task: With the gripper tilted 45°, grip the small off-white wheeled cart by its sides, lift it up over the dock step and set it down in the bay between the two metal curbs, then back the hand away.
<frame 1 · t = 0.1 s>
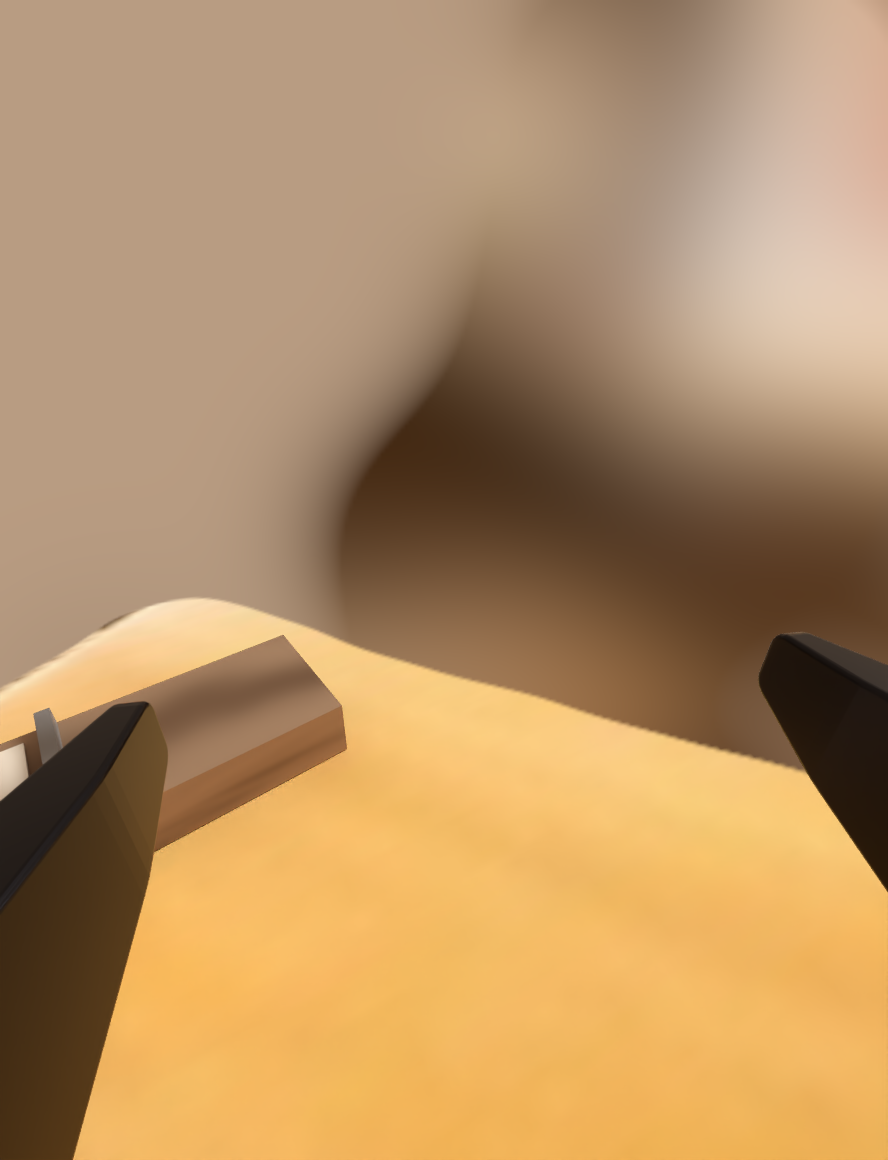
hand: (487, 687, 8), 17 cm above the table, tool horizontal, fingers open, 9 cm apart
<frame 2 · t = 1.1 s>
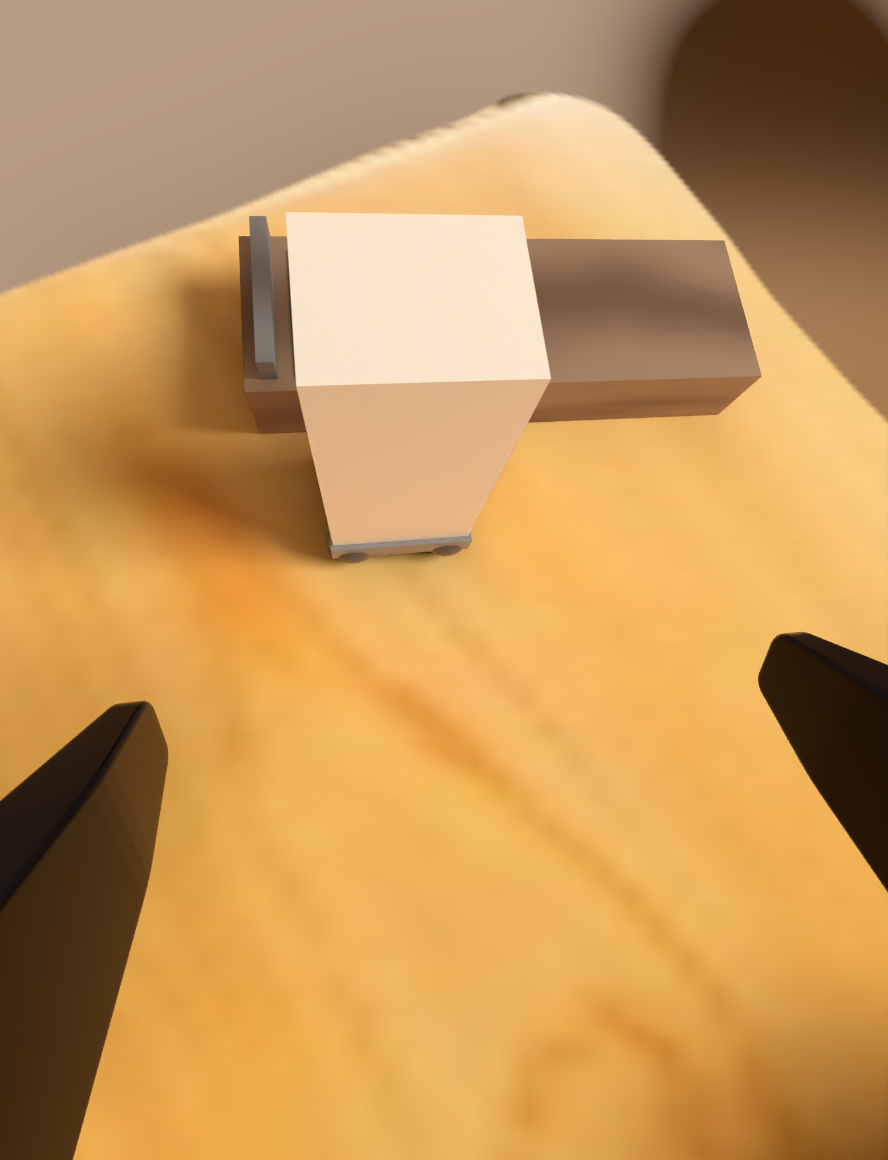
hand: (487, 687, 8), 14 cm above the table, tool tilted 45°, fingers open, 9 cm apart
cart: (394, 509, 23), on the table
dock: (379, 360, 24), on the table
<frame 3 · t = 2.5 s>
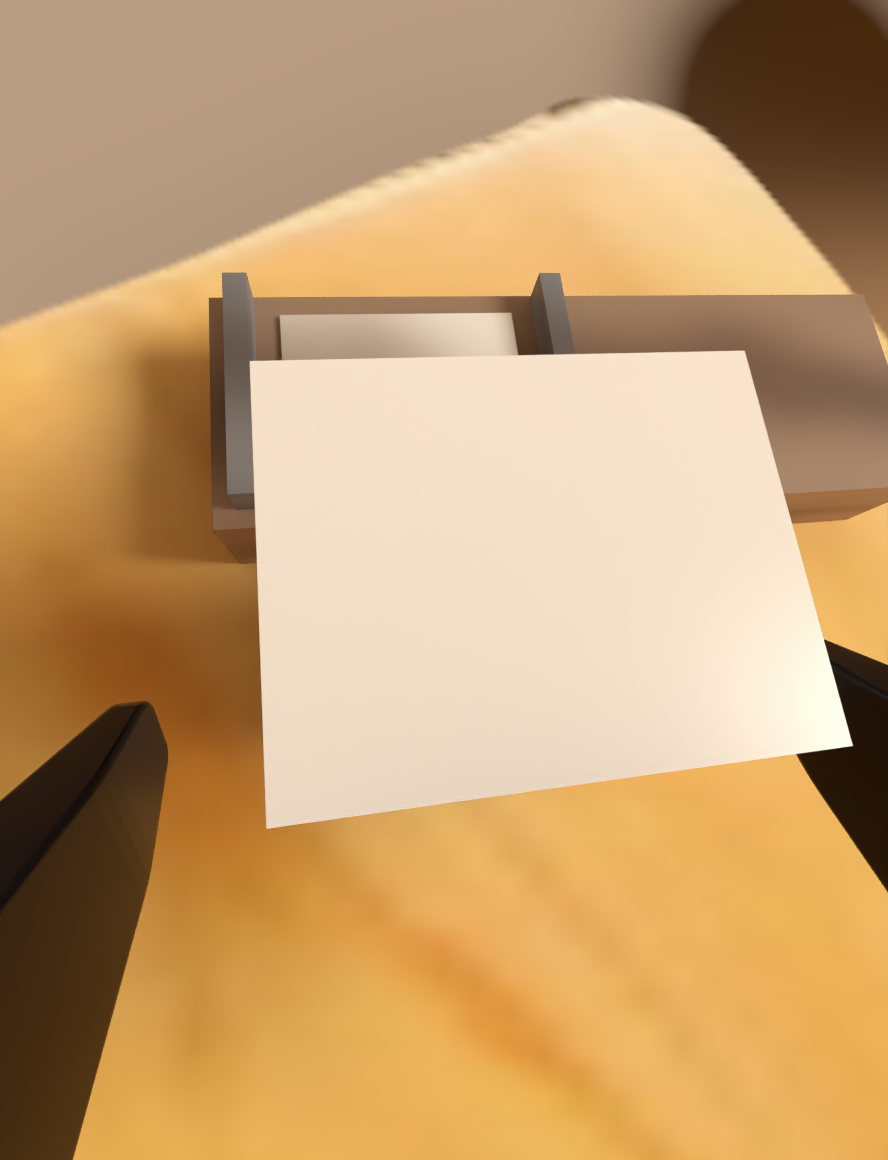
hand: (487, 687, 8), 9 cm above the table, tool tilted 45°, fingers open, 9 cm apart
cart: (424, 669, 17), on the table
dock: (402, 454, 18), on the table
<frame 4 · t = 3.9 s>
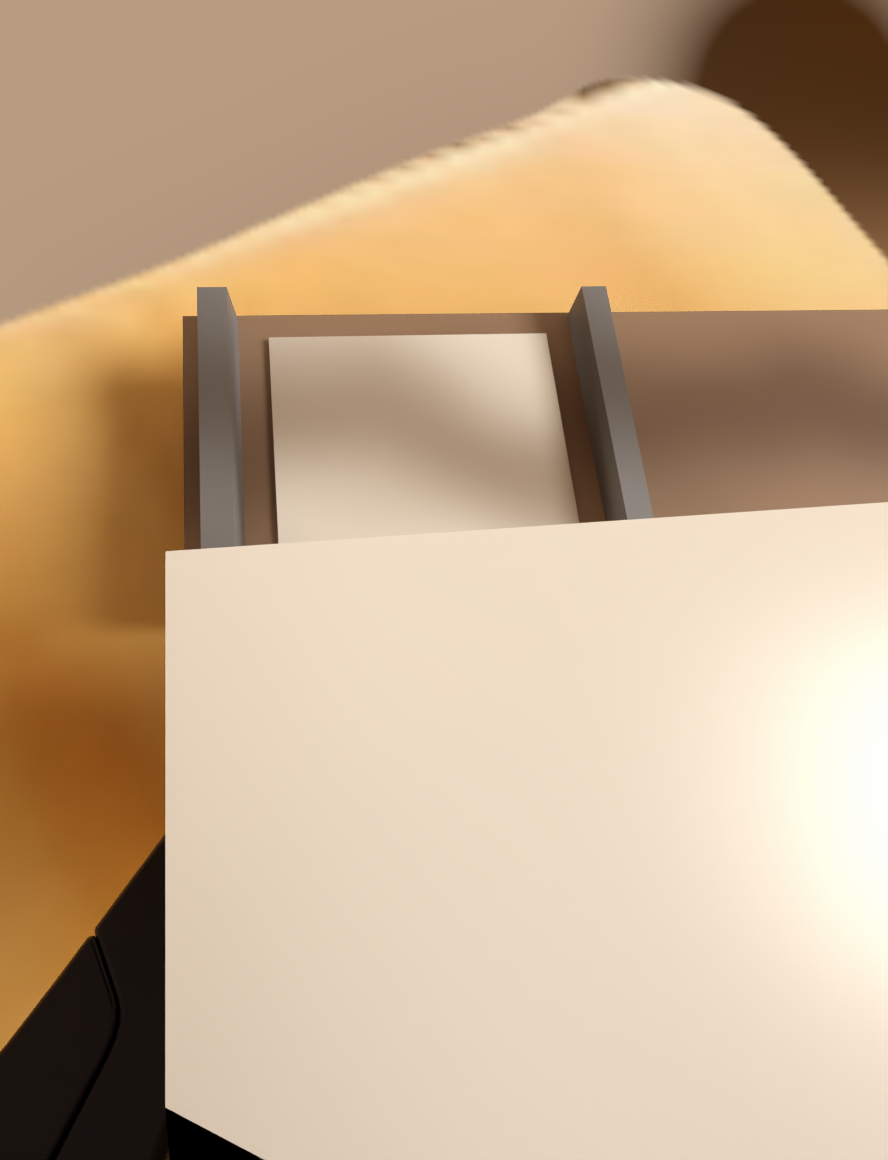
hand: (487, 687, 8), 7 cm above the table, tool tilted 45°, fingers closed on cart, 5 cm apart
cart: (442, 755, 14), on the table, touching gripper
dock: (414, 496, 16), on the table
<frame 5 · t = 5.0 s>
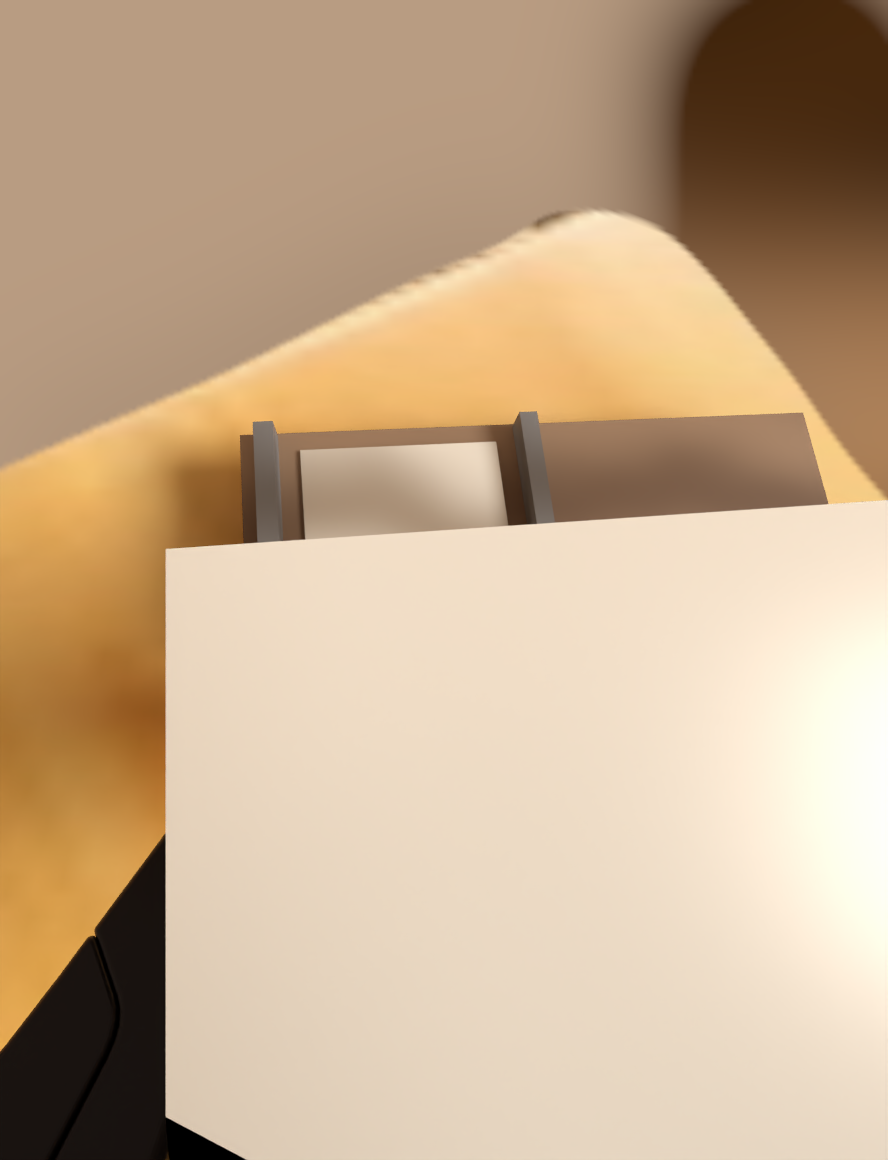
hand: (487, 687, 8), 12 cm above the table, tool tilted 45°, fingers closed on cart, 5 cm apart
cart: (441, 754, 14), point 6 cm above the table, touching gripper
dock: (403, 551, 21), on the table
when the fingers open (10 cm above the table, at t = 6.5 s): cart stays where it is, resting on dock.
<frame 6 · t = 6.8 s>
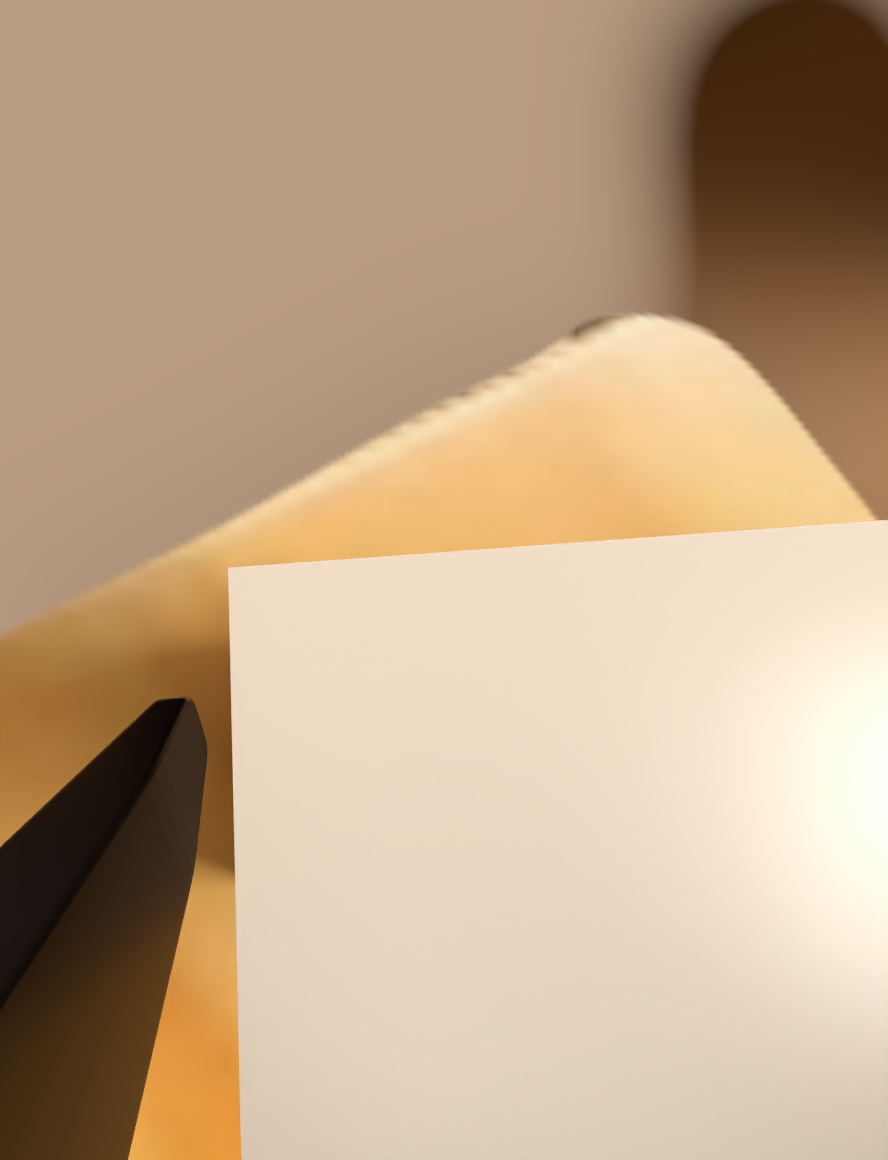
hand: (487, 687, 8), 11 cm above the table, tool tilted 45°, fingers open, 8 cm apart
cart: (439, 754, 15), point 3 cm above the table, touching dock
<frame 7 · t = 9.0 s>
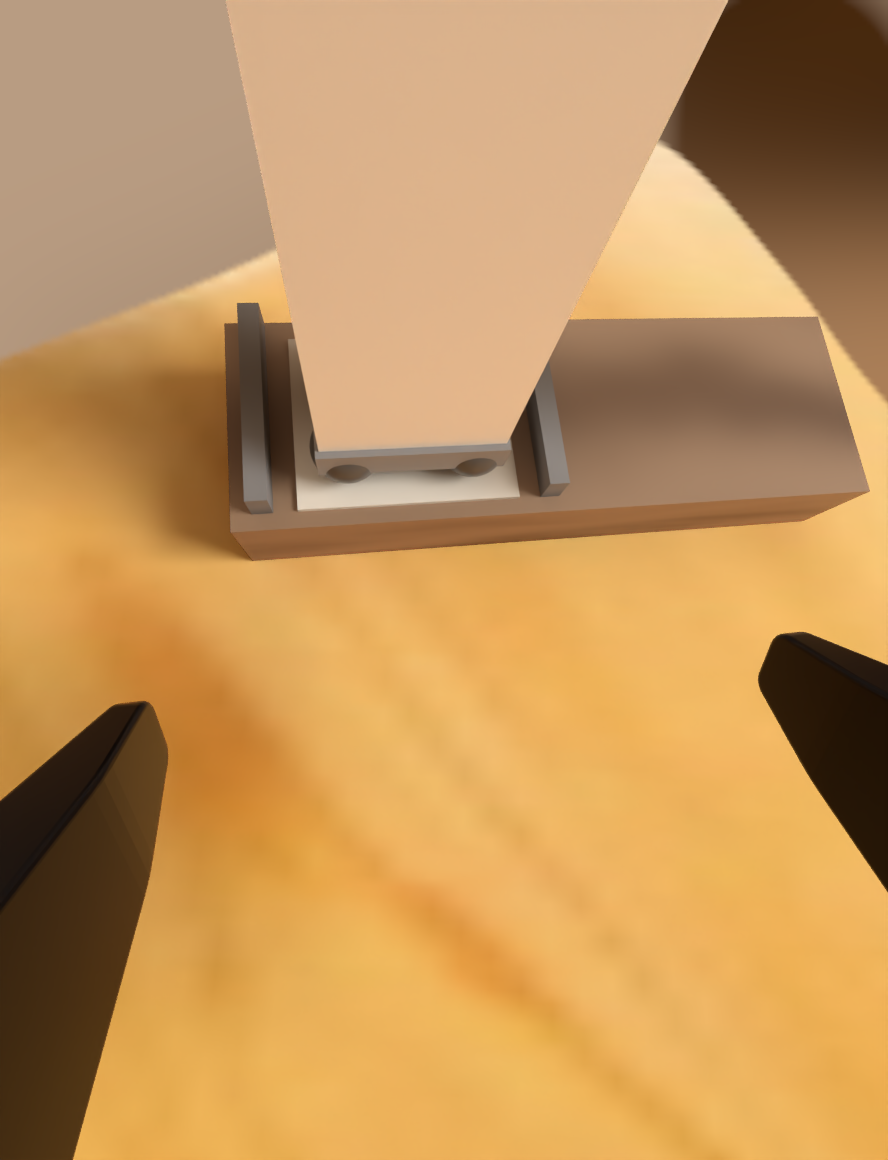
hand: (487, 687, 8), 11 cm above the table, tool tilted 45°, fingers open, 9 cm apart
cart: (403, 418, 17), point 3 cm above the table, touching dock
dock: (398, 462, 20), on the table
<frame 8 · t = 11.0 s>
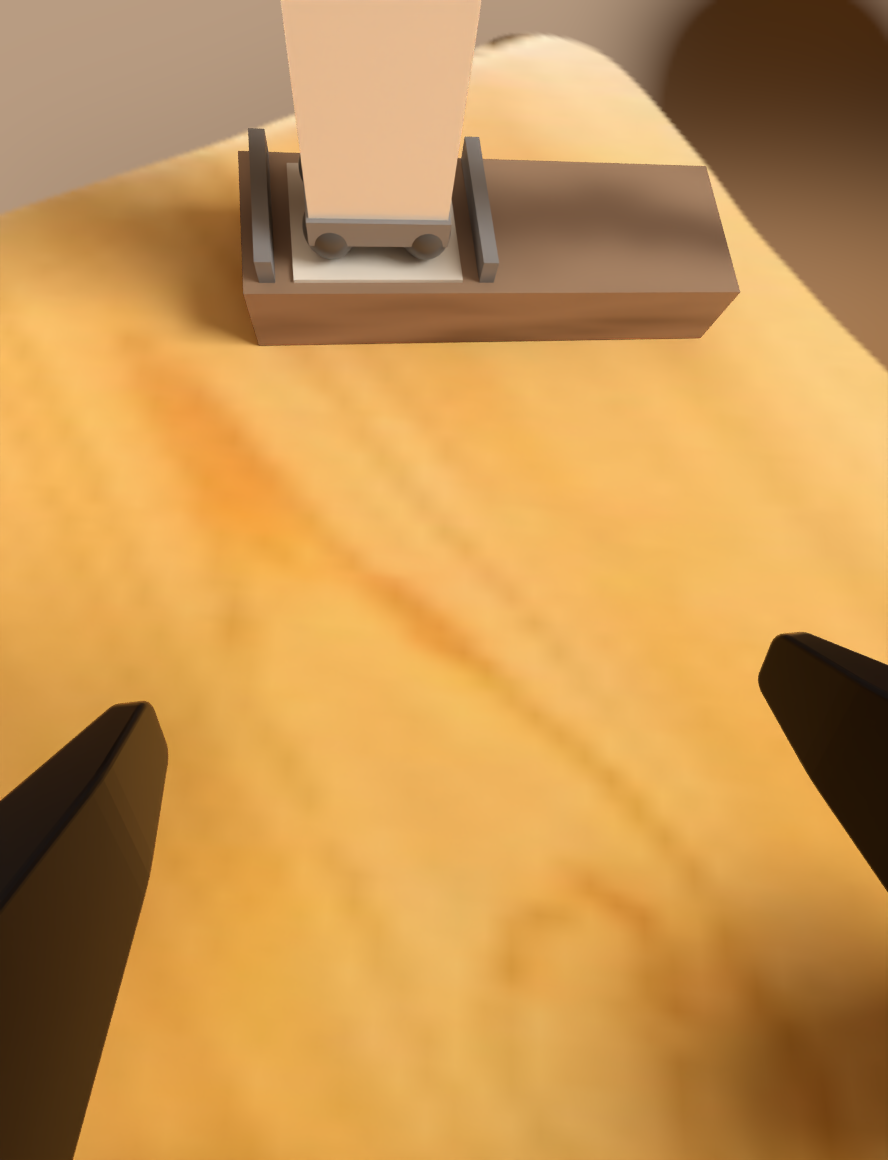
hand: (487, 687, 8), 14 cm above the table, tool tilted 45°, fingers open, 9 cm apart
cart: (374, 221, 22), point 3 cm above the table, touching dock
dock: (373, 280, 25), on the table
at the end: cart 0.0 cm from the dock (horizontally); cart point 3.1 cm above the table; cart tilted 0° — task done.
